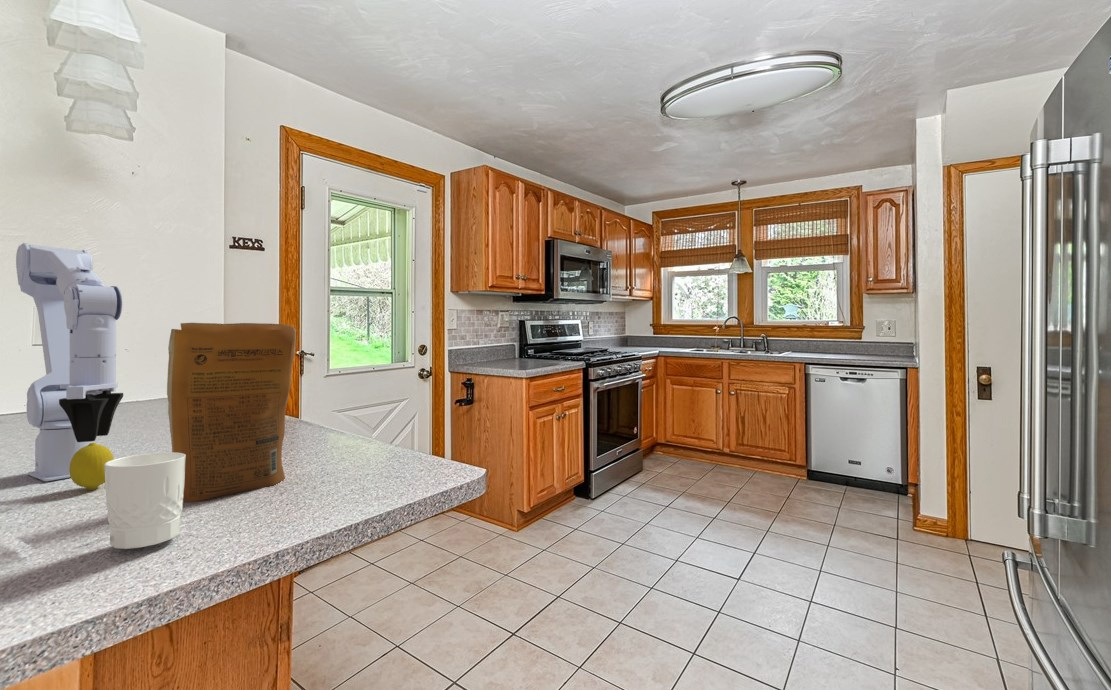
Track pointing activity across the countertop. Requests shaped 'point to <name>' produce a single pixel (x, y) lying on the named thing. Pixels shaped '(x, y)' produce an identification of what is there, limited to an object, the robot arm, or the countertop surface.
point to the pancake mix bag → (229, 404)
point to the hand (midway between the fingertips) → (93, 438)
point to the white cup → (144, 498)
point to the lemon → (90, 466)
